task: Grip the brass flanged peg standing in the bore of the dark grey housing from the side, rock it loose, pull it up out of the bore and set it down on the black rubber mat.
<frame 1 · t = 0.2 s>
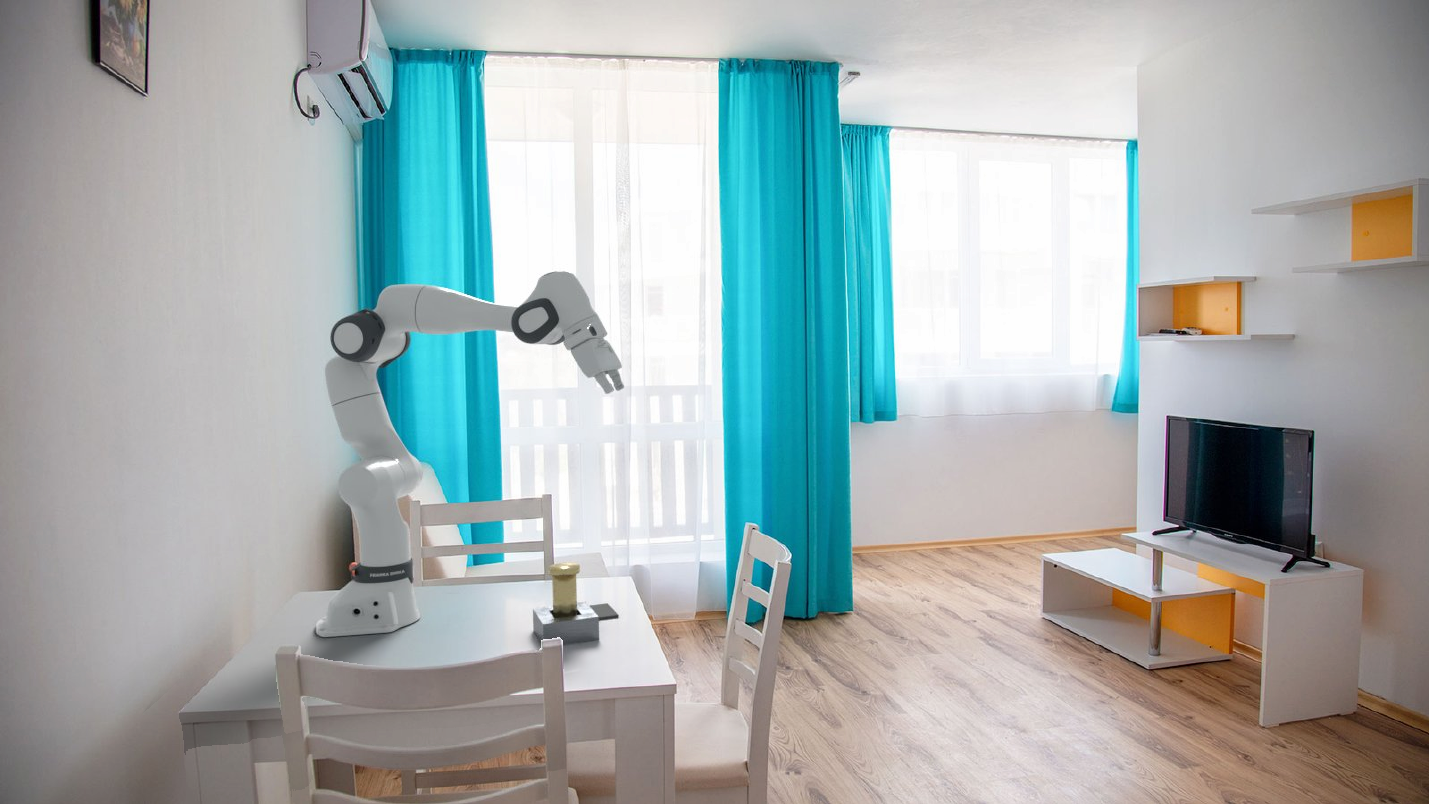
hand: (615, 391, 188), 53 cm above the table, tool tilted 25°, fingers open, 8 cm apart
mat: (592, 614, 200), on the table
brass flanged peg: (565, 625, 186), point 2 cm above the table, touching housing
housing: (565, 634, 186), on the table
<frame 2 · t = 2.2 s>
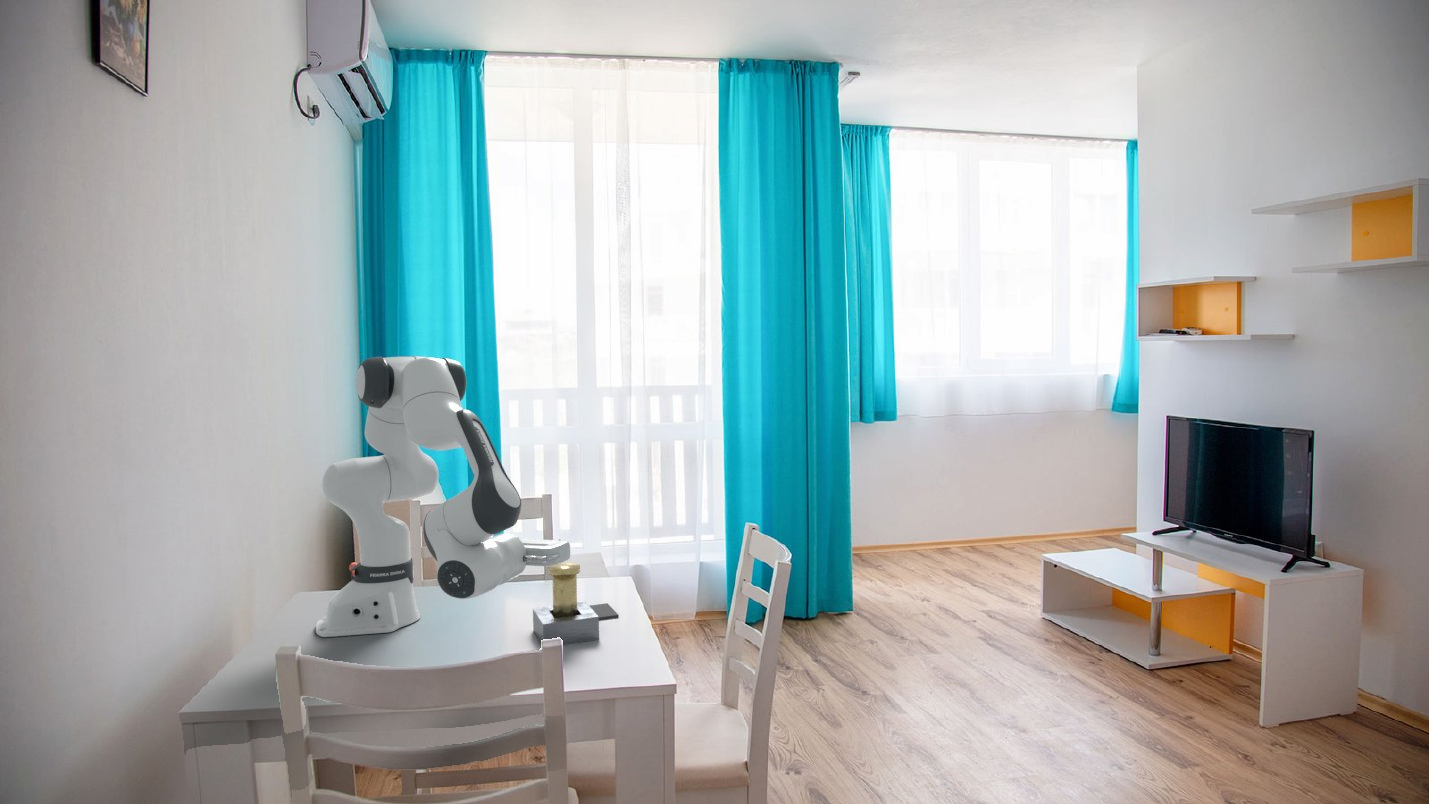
hand: (536, 542, 173), 23 cm above the table, tool horizontal, fingers open, 8 cm apart
nothing on the table moved.
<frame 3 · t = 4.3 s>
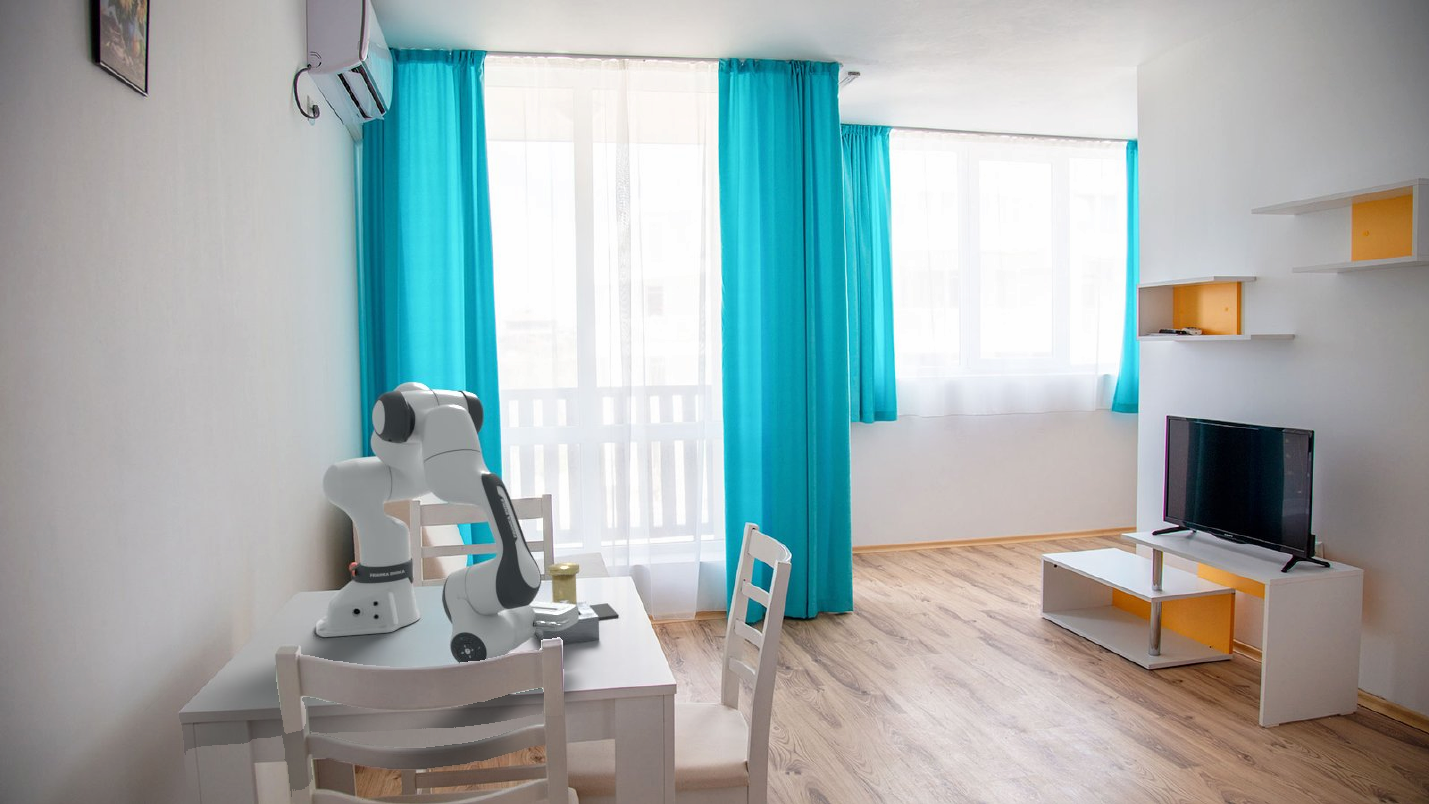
hand: (545, 602, 177), 10 cm above the table, tool horizontal, fingers open, 8 cm apart
nothing on the table moved.
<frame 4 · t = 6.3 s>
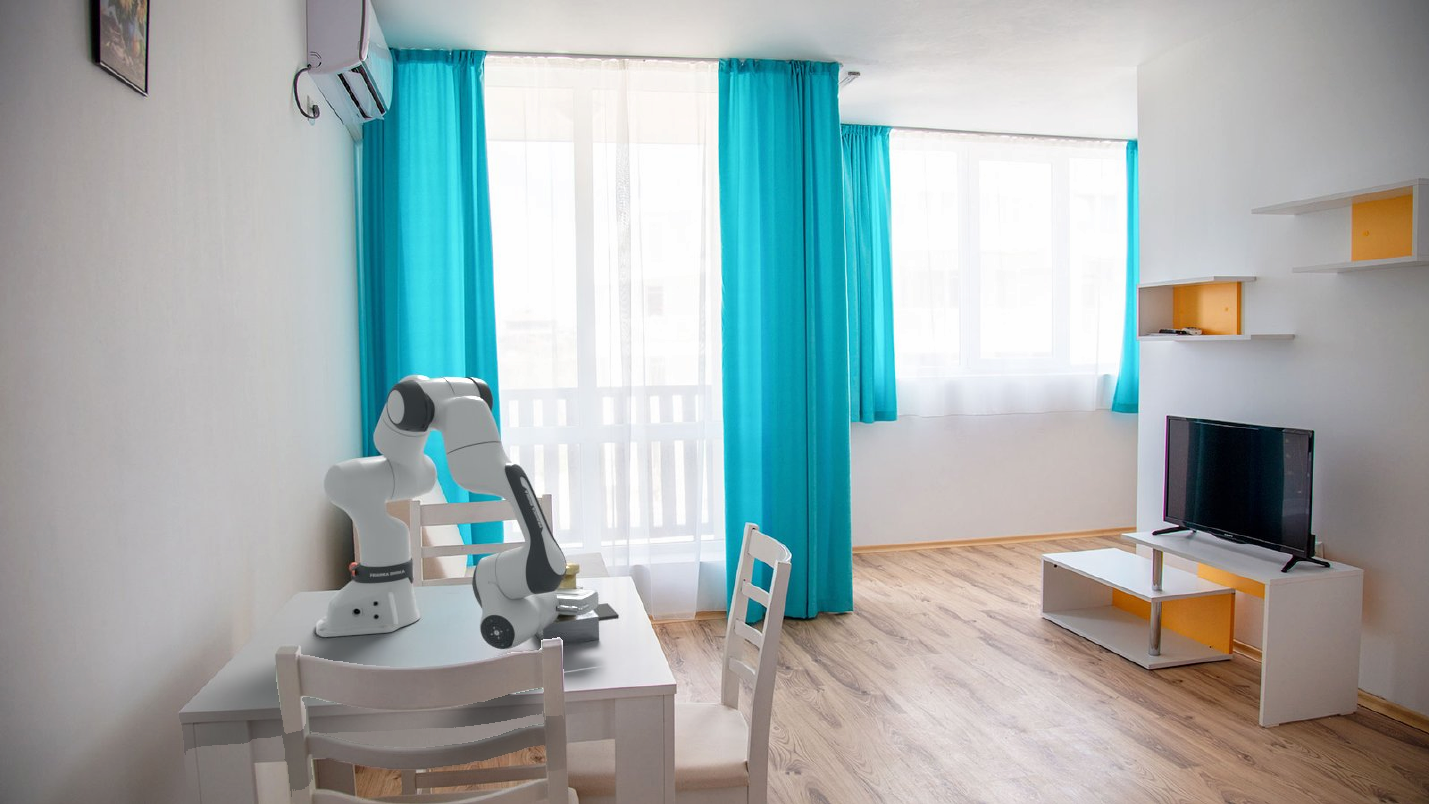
hand: (566, 588, 186), 10 cm above the table, tool horizontal, fingers closed on brass flanged peg, 5 cm apart
brass flanged peg: (565, 625, 186), point 2 cm above the table, touching gripper, housing
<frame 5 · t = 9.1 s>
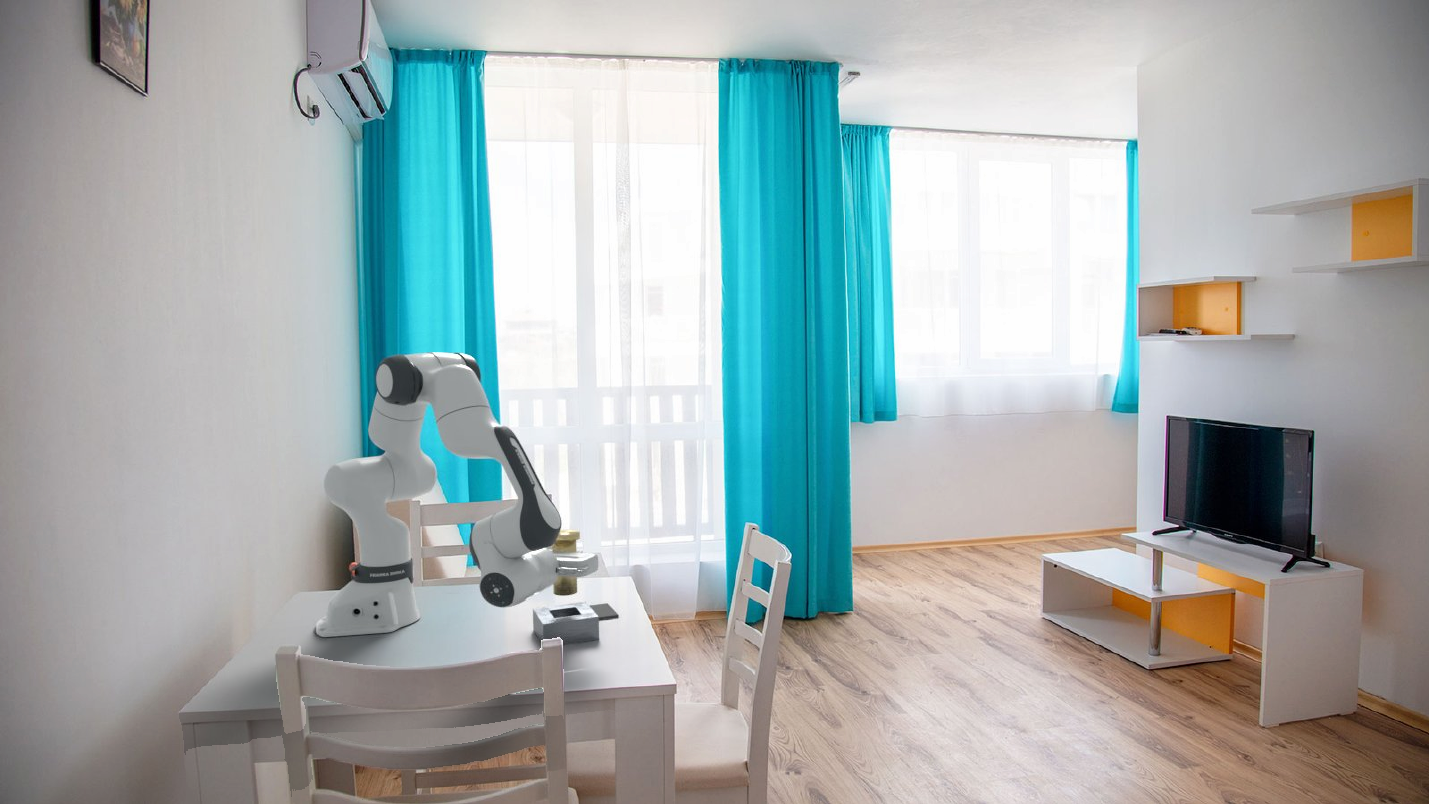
hand: (566, 553, 186), 18 cm above the table, tool horizontal, fingers closed on brass flanged peg, 5 cm apart
brass flanged peg: (565, 592, 186), point 9 cm above the table, touching gripper
when the fingers open (11 cm above the table, at t = 11.7 s): brass flanged peg drops 1 cm, resting on mat.
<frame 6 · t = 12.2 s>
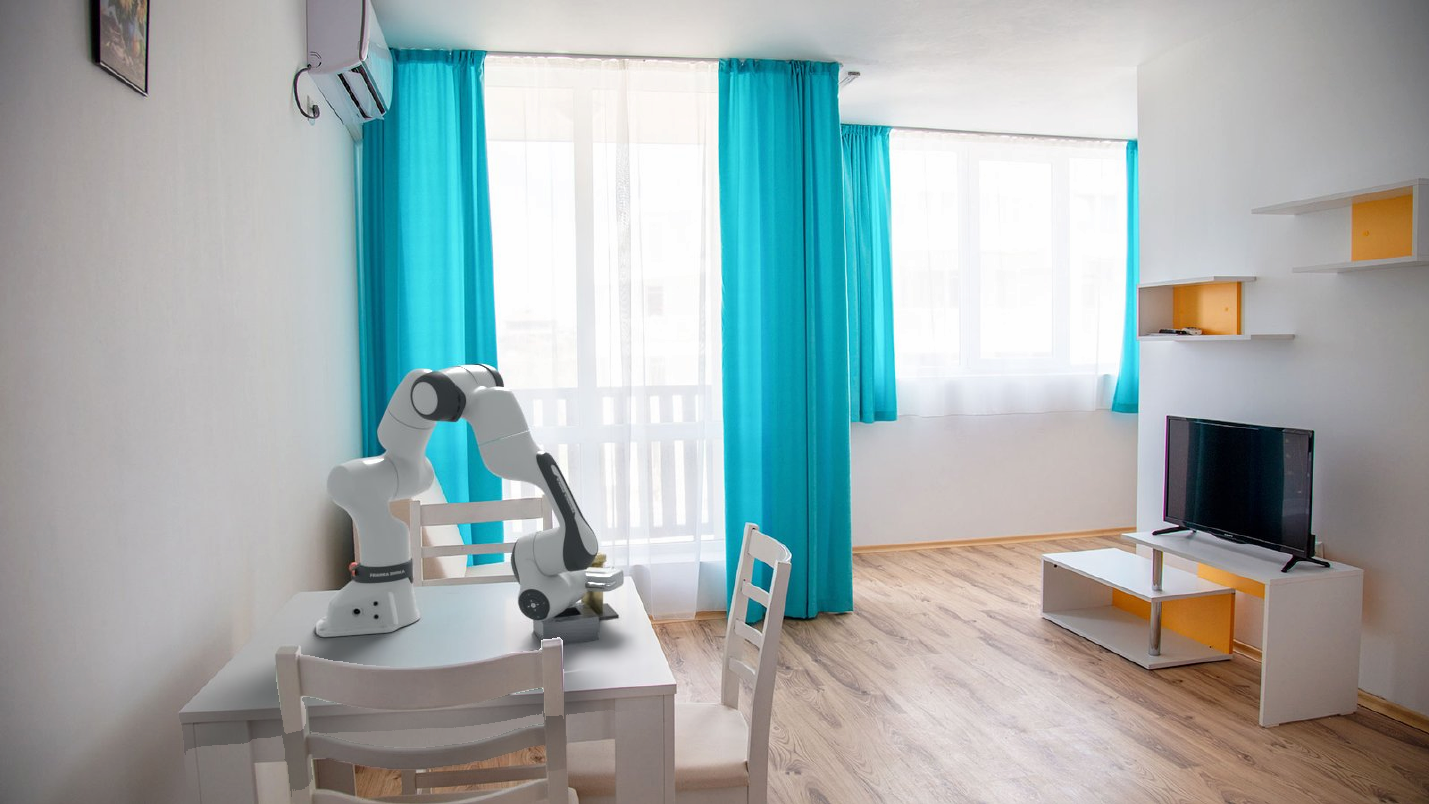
hand: (592, 568, 200), 11 cm above the table, tool horizontal, fingers open, 8 cm apart
brass flanged peg: (592, 611, 200), point 1 cm above the table, touching mat
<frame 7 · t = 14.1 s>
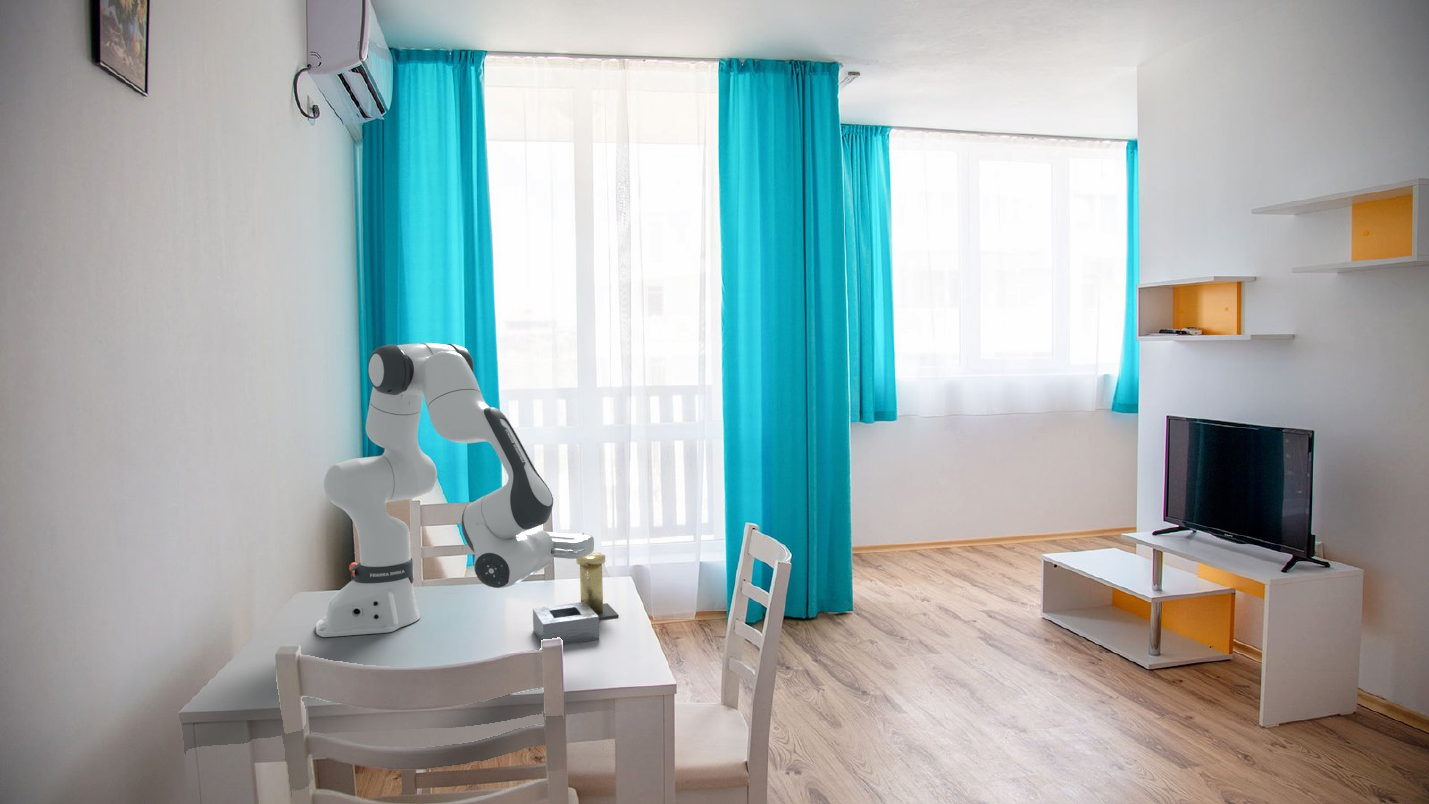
hand: (561, 534, 185), 22 cm above the table, tool horizontal, fingers open, 8 cm apart
nothing on the table moved.
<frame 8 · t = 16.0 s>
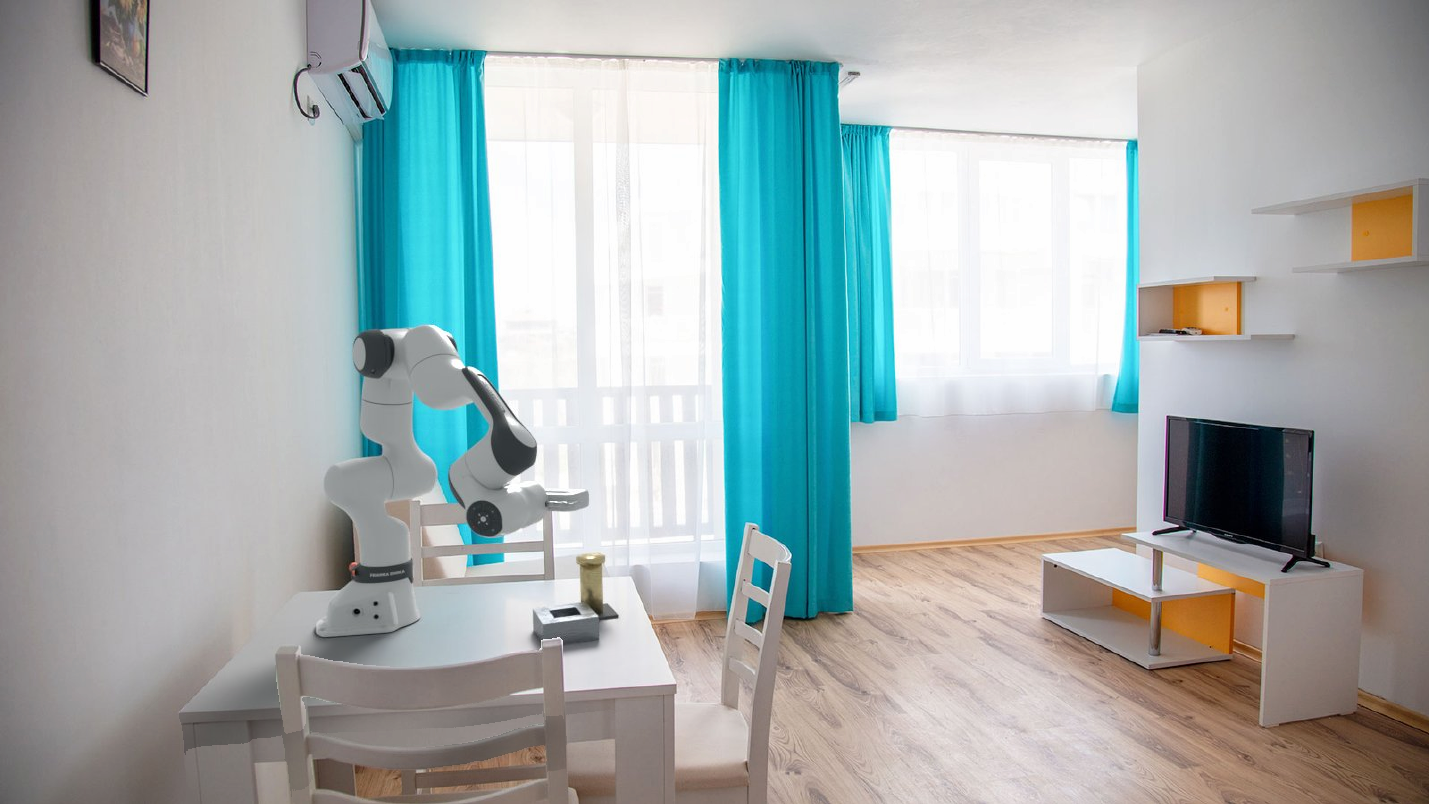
hand: (556, 492, 182), 32 cm above the table, tool horizontal, fingers open, 8 cm apart
nothing on the table moved.
at the end: brass flanged peg inside the target area on the mat (0.1 cm from its centre), point 0.6 cm above the mat's base; brass flanged peg tilted 0°; brass flanged peg touching mat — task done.
